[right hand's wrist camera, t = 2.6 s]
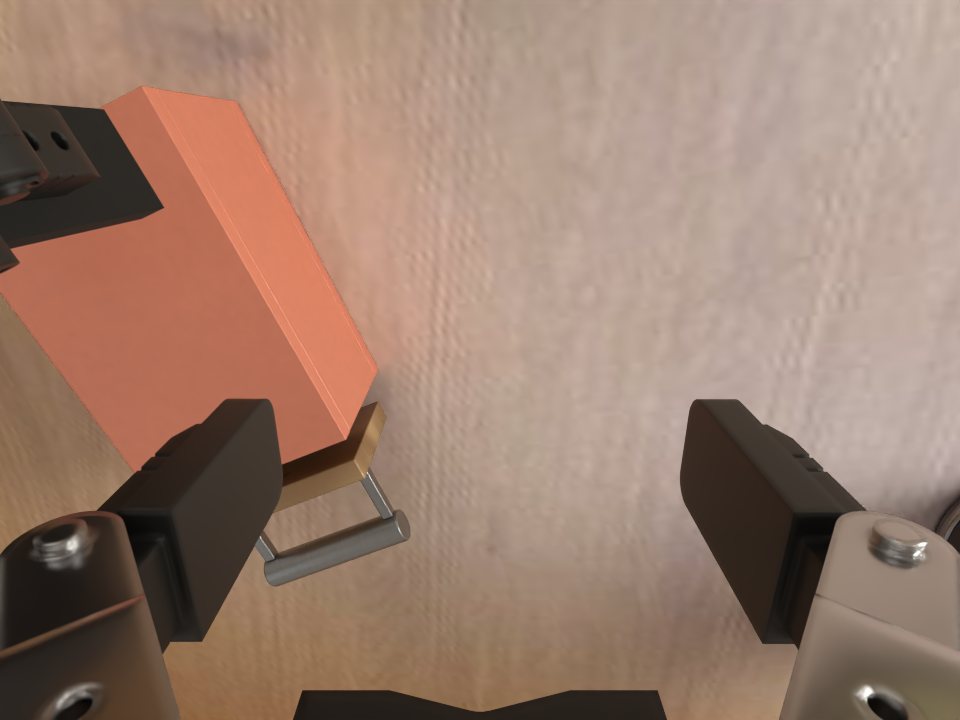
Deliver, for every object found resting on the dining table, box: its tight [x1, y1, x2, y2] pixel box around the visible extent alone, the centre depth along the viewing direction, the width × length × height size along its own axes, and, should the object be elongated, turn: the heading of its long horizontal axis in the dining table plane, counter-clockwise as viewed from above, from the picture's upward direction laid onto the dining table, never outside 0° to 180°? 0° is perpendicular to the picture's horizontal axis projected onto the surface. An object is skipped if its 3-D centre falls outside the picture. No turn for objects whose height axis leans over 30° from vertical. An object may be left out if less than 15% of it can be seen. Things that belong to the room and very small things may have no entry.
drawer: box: [255, 402, 410, 586], centre depth 31 cm, size 20×9×7 cm, turn 23°
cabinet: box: [0, 86, 378, 473], centre depth 29 cm, size 16×10×9 cm, turn 23°
